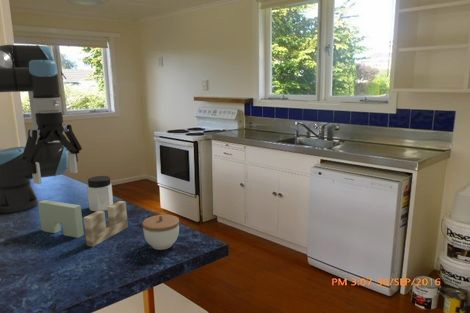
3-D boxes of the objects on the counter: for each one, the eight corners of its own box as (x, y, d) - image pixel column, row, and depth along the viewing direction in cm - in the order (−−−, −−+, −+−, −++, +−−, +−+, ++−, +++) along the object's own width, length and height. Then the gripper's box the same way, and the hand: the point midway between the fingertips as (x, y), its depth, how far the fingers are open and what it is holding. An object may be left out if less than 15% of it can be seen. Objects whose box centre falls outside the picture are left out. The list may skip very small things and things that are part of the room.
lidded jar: (163, 256, 102) (161, 225, 100) (136, 248, 108) (134, 218, 106) (187, 242, 111) (186, 213, 109) (161, 234, 117) (159, 207, 115)
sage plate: (41, 230, 121) (37, 202, 119) (47, 227, 124) (44, 199, 122) (77, 237, 115) (74, 208, 113) (83, 234, 118) (80, 205, 116)
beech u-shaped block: (93, 246, 109) (90, 218, 107) (86, 245, 110) (83, 217, 108) (127, 226, 123) (125, 201, 121) (121, 225, 124) (119, 200, 122)
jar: (92, 213, 136) (89, 182, 134) (87, 207, 143) (84, 178, 141) (116, 208, 141) (113, 178, 139) (110, 203, 148) (108, 174, 145)
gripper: (18, 116, 100) (28, 190, 105) (88, 108, 122) (94, 169, 127) (0, 115, 103) (11, 186, 108) (72, 107, 125) (79, 167, 130)
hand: (56, 177), depth 117 cm, fingers open, 13 cm apart
